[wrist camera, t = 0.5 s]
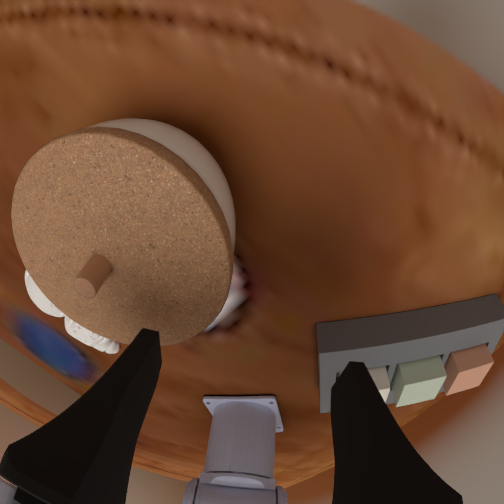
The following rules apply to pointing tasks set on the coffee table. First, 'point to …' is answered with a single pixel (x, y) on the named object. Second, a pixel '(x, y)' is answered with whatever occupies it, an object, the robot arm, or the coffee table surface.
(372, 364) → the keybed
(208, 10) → the coffee table surface
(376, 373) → the ivory key
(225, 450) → the robot arm
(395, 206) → the coffee table surface
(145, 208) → the lidded jar
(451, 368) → the pink block
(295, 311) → the coffee table surface
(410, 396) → the sage key
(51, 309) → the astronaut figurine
